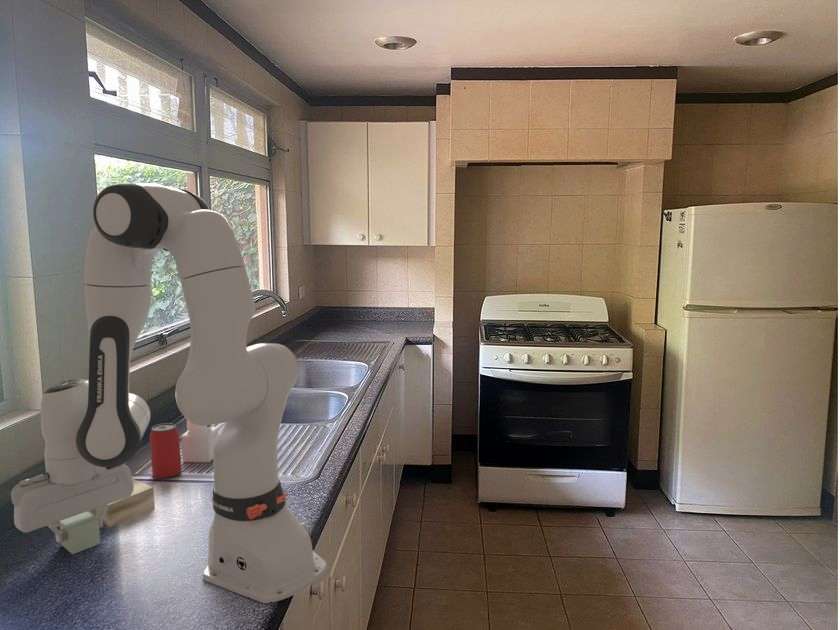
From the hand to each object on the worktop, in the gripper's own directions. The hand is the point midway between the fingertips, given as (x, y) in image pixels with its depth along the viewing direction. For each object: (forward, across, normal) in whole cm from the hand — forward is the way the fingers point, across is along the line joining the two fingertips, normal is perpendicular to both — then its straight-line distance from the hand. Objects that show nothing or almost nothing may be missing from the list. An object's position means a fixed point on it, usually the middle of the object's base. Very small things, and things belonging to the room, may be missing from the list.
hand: (80, 534), depth 117 cm
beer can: (+2, +27, +18) cm, 33 cm away
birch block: (+2, +11, +8) cm, 14 cm away
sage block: (+2, 0, 0) cm, 2 cm away
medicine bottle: (+2, +38, +21) cm, 43 cm away
